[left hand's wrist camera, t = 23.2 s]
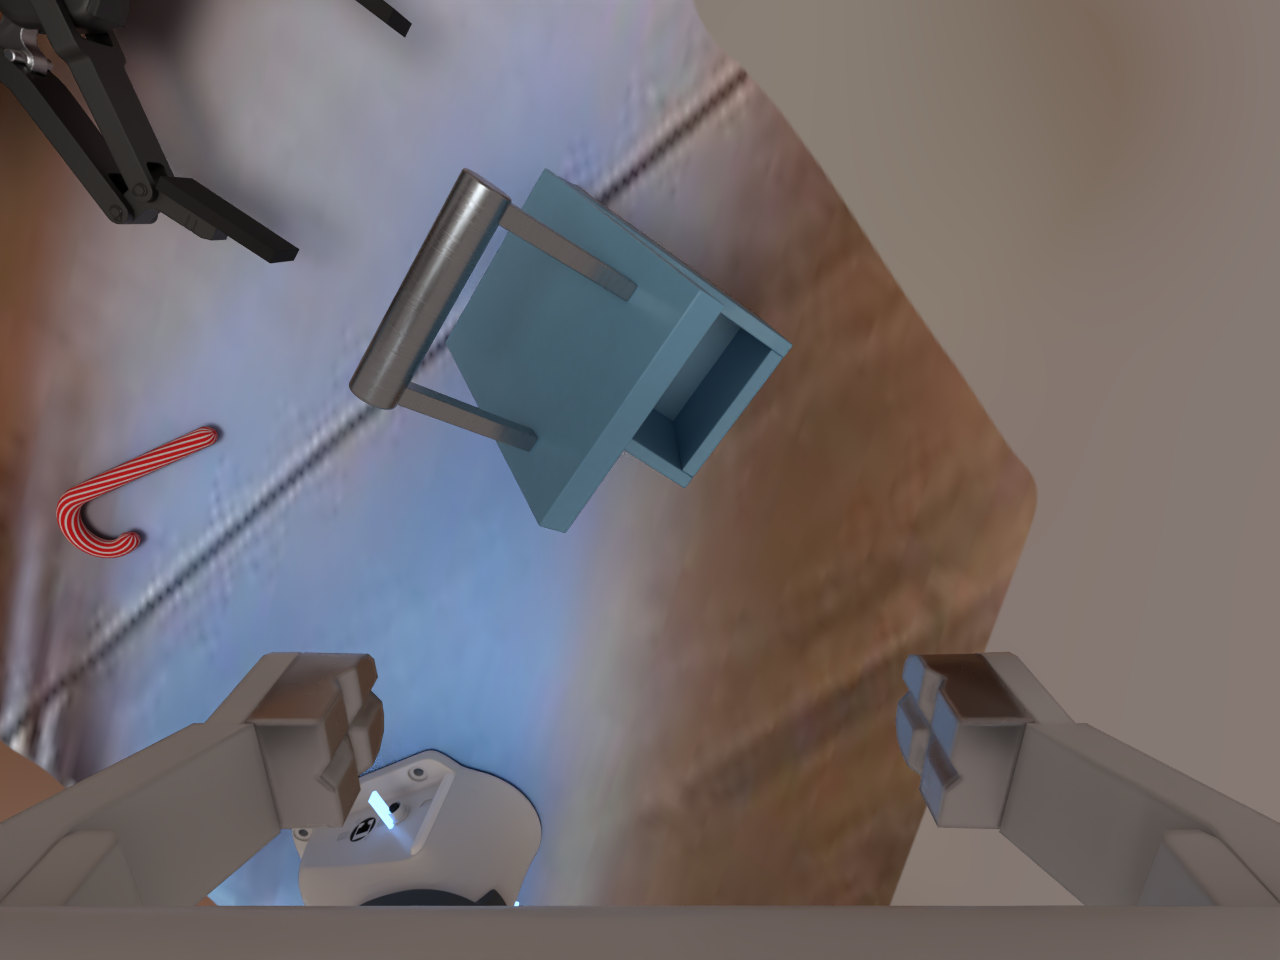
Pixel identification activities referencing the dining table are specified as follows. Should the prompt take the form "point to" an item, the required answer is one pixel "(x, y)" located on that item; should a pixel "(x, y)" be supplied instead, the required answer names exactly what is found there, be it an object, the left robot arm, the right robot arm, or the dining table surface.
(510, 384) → the lid
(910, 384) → the dining table surface
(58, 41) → the right robot arm
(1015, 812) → the left robot arm
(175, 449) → the candy cane
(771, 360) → the chest
